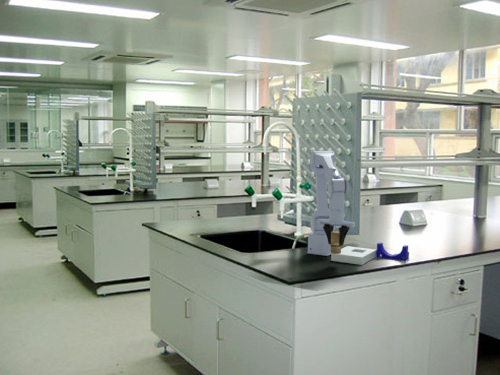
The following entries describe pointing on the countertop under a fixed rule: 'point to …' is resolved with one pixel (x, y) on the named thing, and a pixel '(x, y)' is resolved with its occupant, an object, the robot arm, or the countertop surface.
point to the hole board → (354, 255)
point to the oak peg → (335, 242)
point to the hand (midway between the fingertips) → (335, 244)
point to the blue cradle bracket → (384, 254)
